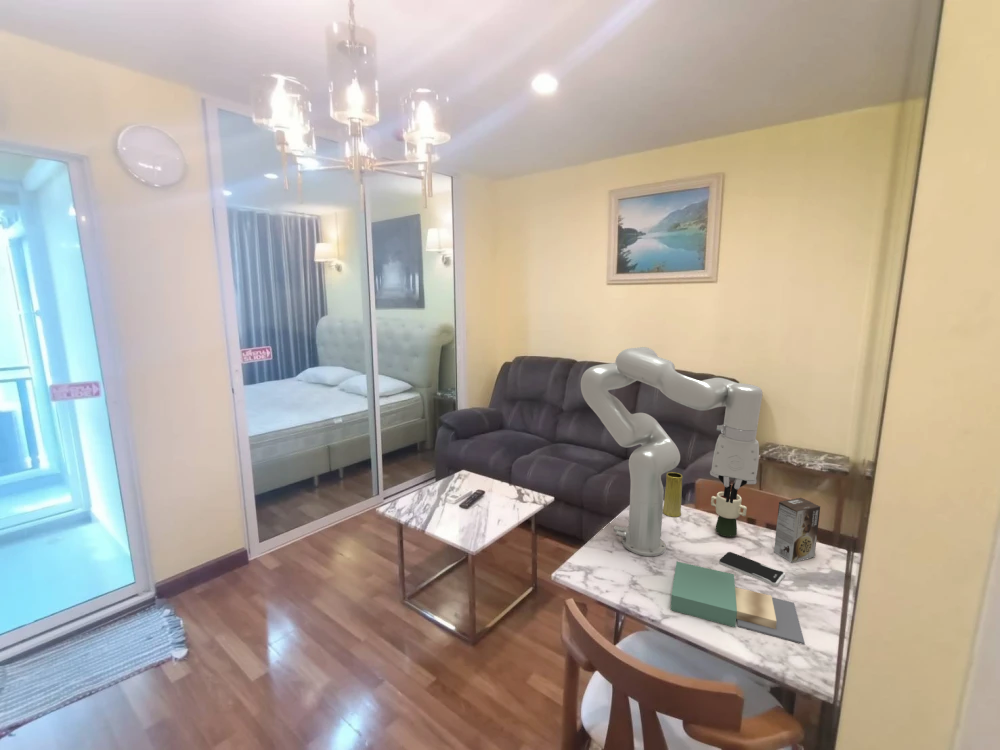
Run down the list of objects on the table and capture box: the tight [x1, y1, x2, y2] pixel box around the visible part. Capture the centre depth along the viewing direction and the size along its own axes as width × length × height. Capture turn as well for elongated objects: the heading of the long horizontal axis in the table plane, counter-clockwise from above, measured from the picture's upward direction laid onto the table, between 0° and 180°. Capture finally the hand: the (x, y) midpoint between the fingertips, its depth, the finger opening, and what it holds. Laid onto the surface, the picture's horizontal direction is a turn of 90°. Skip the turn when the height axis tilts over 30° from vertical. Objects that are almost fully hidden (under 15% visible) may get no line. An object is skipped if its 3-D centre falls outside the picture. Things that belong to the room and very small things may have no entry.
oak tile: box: [735, 586, 777, 629], centre depth 110 cm, size 8×10×2 cm
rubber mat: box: [736, 597, 806, 645], centre depth 109 cm, size 13×15×1 cm
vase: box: [662, 471, 683, 518], centre depth 160 cm, size 6×6×14 cm
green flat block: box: [670, 561, 737, 628], centre depth 115 cm, size 14×16×4 cm
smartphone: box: [718, 551, 786, 587], centre depth 128 cm, size 8×1×15 cm
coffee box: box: [773, 497, 821, 563], centre depth 134 cm, size 9×6×16 cm
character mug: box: [710, 491, 748, 538], centre depth 146 cm, size 11×7×13 cm, turn 41°
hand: (729, 500), depth 119 cm, fingers closed
